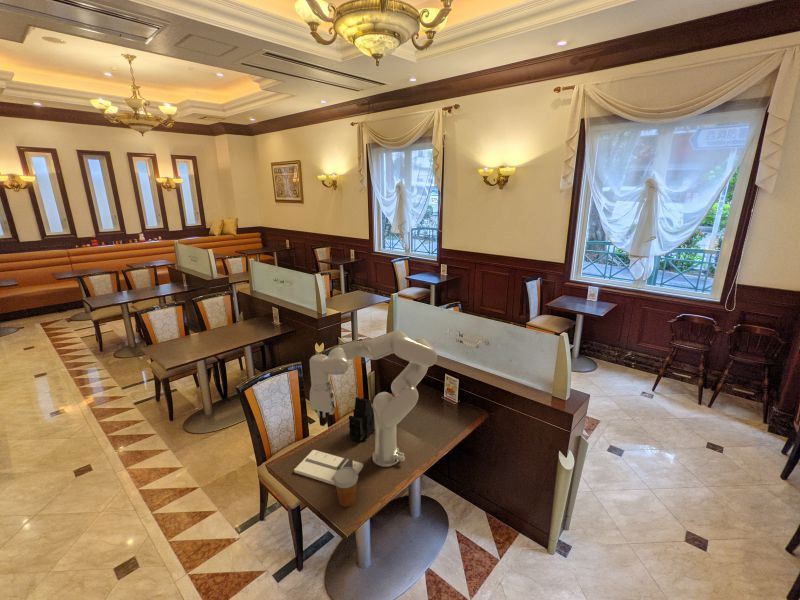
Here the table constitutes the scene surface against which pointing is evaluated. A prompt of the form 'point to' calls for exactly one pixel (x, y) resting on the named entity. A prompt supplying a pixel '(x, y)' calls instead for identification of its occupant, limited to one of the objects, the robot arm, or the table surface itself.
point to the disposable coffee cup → (346, 485)
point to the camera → (361, 420)
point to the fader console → (322, 466)
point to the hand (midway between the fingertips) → (323, 424)
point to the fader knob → (345, 463)
